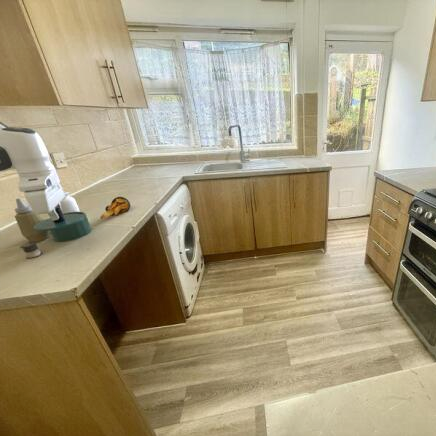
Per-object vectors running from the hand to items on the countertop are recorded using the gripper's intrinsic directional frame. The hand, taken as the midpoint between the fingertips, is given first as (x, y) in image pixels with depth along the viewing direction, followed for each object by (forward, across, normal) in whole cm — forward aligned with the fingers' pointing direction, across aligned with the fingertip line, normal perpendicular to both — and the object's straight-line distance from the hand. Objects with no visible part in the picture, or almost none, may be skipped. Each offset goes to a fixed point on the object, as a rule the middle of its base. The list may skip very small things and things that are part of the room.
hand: (57, 217), depth 86 cm
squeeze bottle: (+14, -21, -15) cm, 29 cm away
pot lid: (+2, 0, 0) cm, 2 cm away
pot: (+14, -18, -3) cm, 23 cm away
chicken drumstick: (+14, -34, +12) cm, 39 cm away
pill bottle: (+14, -35, -6) cm, 38 cm away
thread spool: (+14, -4, -12) cm, 19 cm away
